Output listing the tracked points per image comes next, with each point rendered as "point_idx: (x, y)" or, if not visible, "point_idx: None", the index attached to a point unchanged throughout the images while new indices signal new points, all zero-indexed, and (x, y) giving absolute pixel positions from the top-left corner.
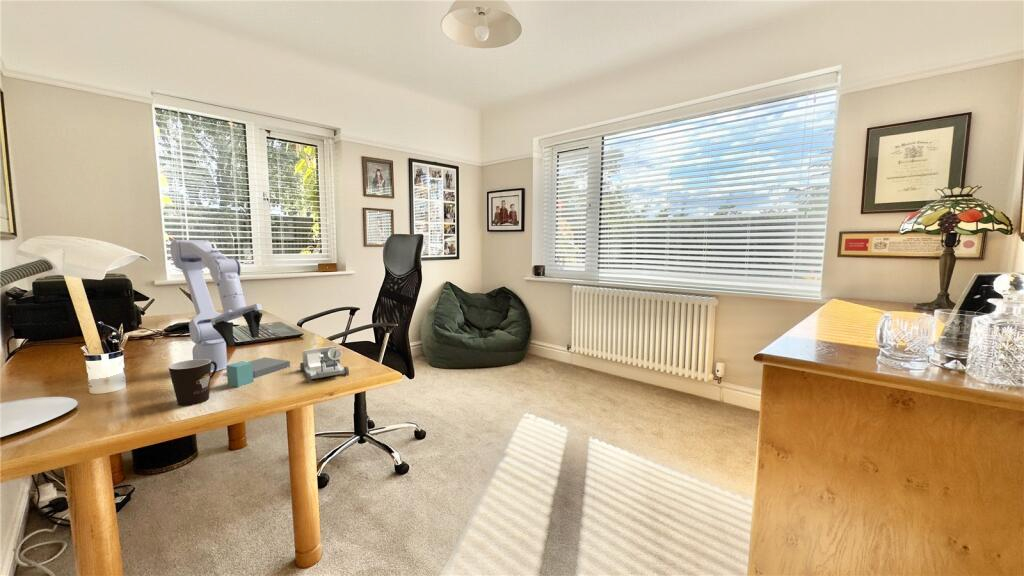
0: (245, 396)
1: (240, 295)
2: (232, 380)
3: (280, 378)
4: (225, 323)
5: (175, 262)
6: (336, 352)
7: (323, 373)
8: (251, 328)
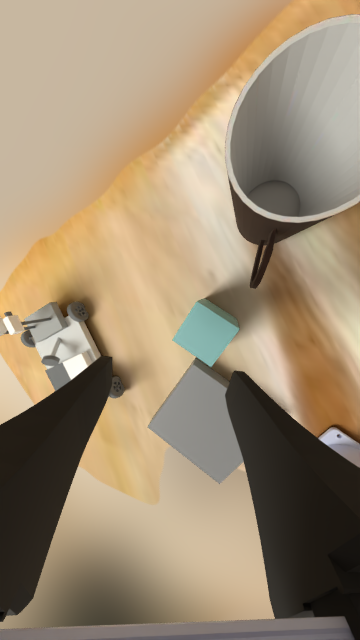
0: (162, 234)
1: None
2: (220, 310)
3: (141, 341)
4: (315, 572)
5: None
6: None
7: (44, 306)
8: (69, 382)
